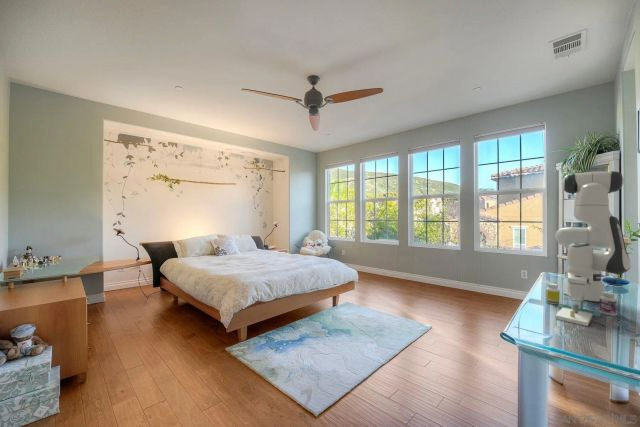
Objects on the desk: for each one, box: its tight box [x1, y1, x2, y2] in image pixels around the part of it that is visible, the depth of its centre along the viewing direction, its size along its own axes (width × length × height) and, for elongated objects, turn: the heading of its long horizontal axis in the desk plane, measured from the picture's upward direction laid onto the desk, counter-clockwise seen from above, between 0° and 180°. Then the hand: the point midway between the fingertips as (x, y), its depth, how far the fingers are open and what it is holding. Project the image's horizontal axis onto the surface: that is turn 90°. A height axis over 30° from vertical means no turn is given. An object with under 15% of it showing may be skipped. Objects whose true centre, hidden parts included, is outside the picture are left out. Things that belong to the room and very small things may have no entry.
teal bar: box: [557, 302, 602, 318], centre depth 126 cm, size 14×5×4 cm, turn 39°
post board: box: [555, 303, 593, 327], centre depth 118 cm, size 16×10×5 cm, turn 129°
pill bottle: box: [598, 291, 617, 317], centre depth 124 cm, size 5×5×10 cm
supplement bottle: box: [545, 282, 561, 305], centre depth 138 cm, size 5×5×10 cm
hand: (579, 306), depth 126 cm, fingers open, 8 cm apart
